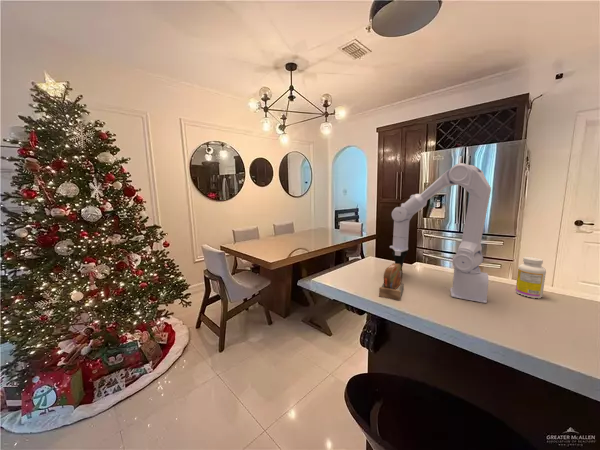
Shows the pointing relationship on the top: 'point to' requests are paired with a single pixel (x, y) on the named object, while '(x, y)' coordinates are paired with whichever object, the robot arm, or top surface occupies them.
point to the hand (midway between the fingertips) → (398, 268)
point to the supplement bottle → (531, 277)
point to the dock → (391, 292)
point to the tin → (393, 276)
